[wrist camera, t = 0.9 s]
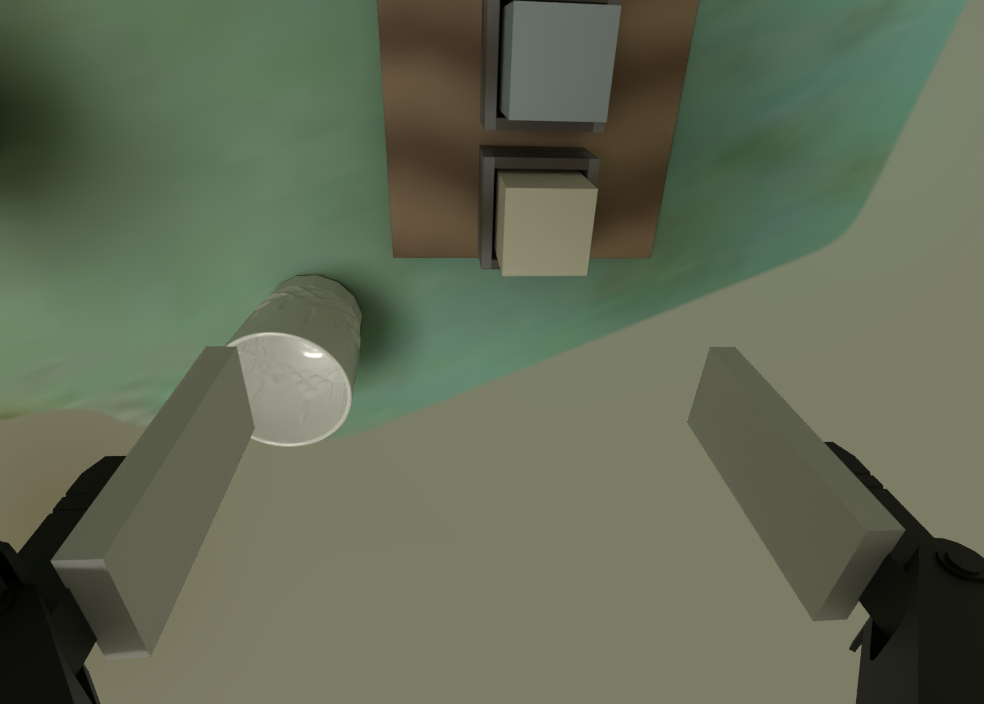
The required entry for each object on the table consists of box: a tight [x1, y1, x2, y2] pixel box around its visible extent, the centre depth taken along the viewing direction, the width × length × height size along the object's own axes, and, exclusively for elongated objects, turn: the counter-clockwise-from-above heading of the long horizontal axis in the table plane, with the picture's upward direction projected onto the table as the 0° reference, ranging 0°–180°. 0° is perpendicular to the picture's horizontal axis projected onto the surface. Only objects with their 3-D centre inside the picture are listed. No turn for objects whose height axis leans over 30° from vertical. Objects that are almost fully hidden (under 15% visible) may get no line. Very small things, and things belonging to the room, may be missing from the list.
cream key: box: [494, 168, 598, 276], centre depth 31 cm, size 5×5×5 cm
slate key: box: [499, 1, 621, 122], centre depth 27 cm, size 5×5×5 cm
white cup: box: [225, 275, 362, 447], centre depth 35 cm, size 8×8×10 cm
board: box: [377, 0, 699, 269], centre depth 30 cm, size 24×18×5 cm
